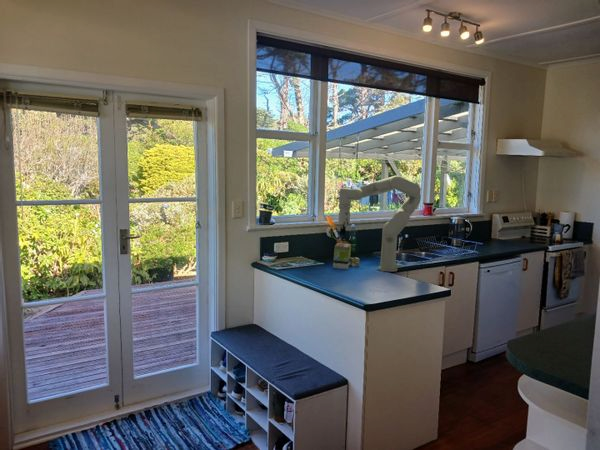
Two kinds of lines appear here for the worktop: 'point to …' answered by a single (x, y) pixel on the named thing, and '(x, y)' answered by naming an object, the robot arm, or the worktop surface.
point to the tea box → (342, 256)
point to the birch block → (354, 261)
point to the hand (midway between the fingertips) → (342, 234)
